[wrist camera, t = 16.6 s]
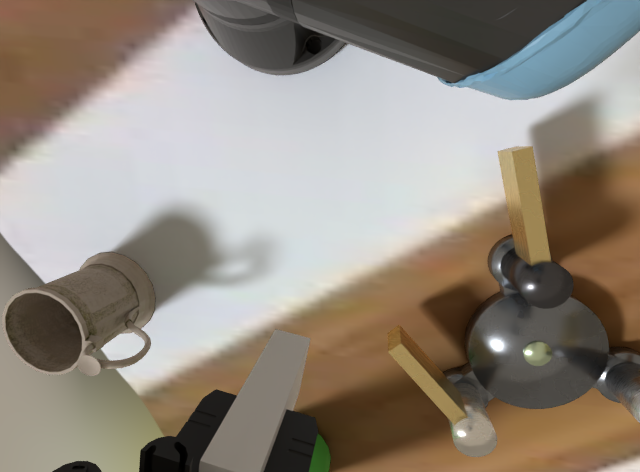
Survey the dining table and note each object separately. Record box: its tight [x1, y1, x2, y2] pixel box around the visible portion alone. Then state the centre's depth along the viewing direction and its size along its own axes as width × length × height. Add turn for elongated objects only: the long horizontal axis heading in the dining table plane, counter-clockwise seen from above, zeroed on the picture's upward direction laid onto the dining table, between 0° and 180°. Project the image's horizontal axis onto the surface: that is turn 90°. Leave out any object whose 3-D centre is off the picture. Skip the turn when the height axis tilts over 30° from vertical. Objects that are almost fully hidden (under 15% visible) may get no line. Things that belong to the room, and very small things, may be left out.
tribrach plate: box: [443, 235, 640, 409], centre depth 36 cm, size 20×18×2 cm
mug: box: [2, 252, 155, 376], centre depth 37 cm, size 14×10×12 cm
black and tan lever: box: [498, 146, 573, 309], centre depth 30 cm, size 12×4×6 cm, turn 15°
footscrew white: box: [388, 325, 497, 457], centre depth 35 cm, size 12×4×6 cm, turn 42°
